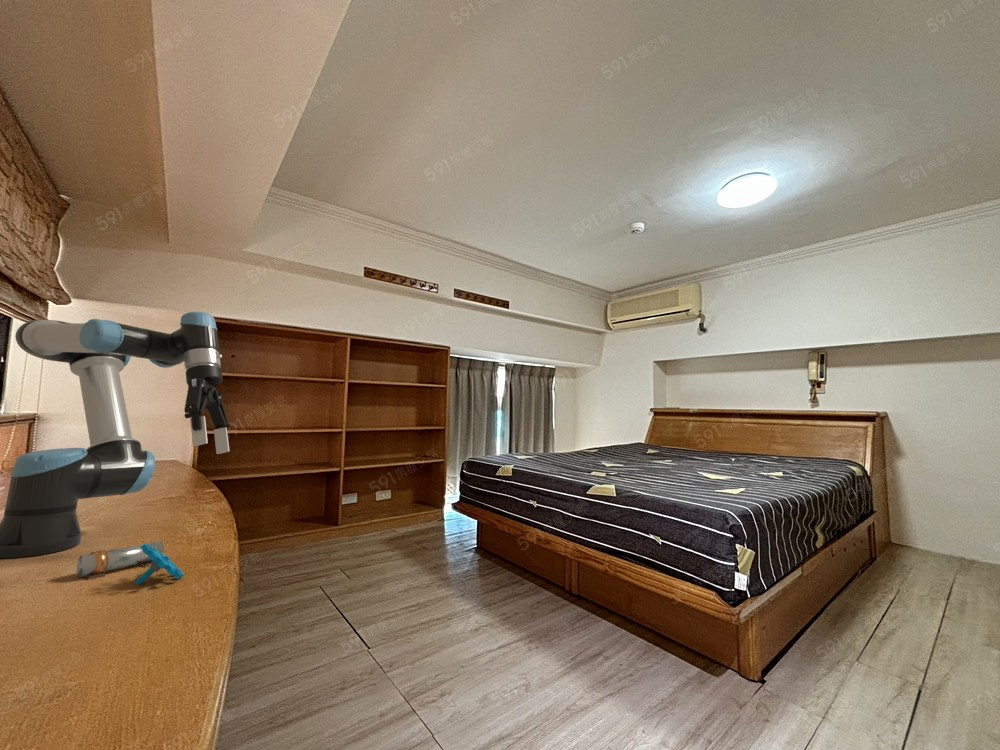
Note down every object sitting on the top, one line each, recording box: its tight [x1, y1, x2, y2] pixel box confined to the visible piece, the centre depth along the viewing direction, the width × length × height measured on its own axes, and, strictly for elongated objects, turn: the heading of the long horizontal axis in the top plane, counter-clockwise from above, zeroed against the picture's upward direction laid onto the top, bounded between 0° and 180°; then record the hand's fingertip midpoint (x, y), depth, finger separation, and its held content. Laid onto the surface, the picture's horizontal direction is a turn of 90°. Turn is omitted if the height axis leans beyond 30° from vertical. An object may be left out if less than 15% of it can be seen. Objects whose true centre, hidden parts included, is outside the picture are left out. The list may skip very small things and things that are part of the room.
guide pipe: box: [76, 540, 165, 580], centre depth 86 cm, size 5×13×5 cm, turn 151°
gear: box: [134, 543, 185, 586], centre depth 80 cm, size 11×6×10 cm
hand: (212, 449), depth 98 cm, fingers open, 13 cm apart
